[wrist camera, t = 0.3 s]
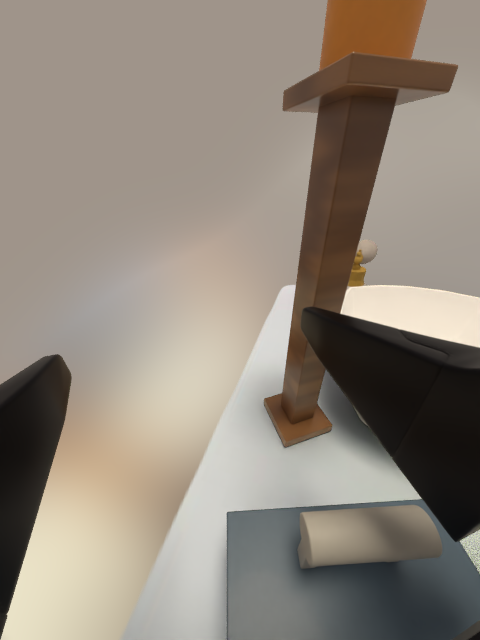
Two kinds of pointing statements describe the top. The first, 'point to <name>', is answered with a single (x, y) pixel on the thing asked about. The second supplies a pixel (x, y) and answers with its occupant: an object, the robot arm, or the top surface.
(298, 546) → the lid
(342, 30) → the detergent bottle
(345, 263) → the stand
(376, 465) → the top surface
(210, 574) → the top surface
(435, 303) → the bowl
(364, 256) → the perfume bottle
